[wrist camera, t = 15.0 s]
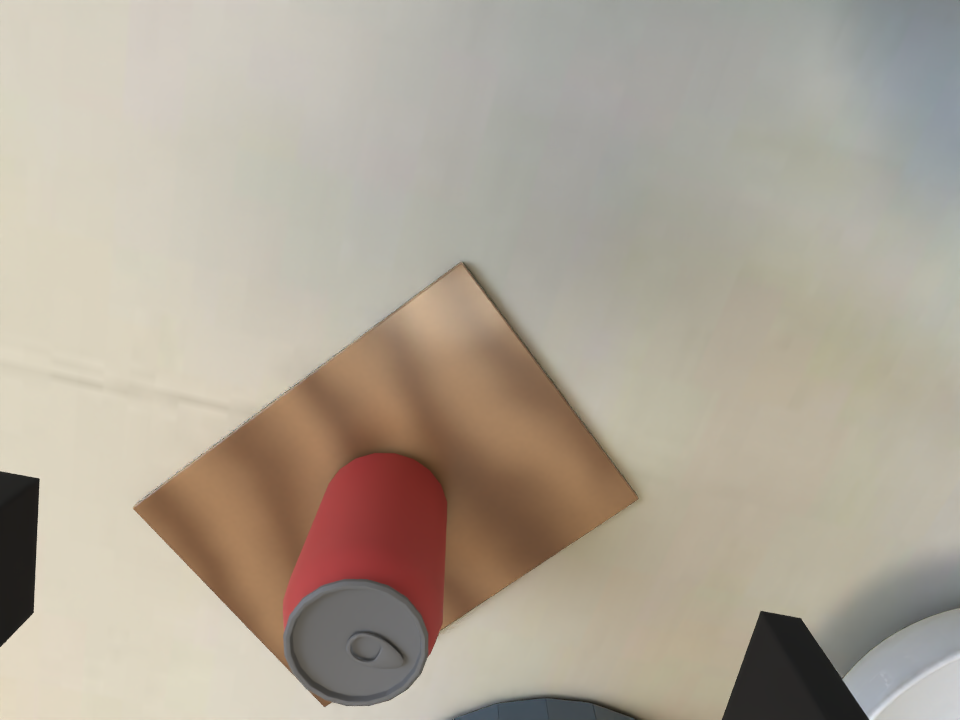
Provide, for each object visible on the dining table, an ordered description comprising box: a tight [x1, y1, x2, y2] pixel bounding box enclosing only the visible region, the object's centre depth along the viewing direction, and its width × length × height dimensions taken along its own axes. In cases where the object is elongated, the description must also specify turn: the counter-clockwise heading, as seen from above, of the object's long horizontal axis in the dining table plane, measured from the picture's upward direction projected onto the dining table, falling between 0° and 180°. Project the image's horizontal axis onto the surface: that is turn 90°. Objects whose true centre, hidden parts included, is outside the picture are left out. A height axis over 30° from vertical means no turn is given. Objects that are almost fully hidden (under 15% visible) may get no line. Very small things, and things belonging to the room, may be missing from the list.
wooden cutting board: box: [133, 262, 638, 707], centre depth 40 cm, size 22×16×1 cm
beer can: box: [283, 453, 447, 706], centre depth 34 cm, size 7×7×12 cm
